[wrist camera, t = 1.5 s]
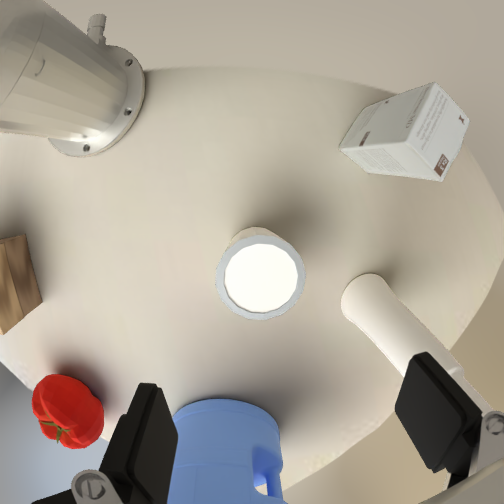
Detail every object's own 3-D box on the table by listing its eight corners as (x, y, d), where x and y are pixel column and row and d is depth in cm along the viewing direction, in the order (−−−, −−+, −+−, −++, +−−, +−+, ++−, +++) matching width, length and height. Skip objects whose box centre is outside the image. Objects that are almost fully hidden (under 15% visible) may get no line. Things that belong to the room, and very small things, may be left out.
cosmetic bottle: (362, 330, 31) (461, 474, 9) (329, 304, 29) (436, 472, 8) (396, 292, 30) (525, 410, 8) (366, 262, 28) (520, 389, 7)
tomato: (75, 356, 30) (44, 397, 21) (124, 416, 33) (108, 460, 25) (37, 369, 31) (10, 403, 22) (82, 422, 34) (64, 459, 25)
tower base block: (-10, 241, 26) (-30, 249, 21) (26, 233, 26) (4, 242, 21) (5, 301, 28) (-13, 313, 24) (43, 301, 28) (24, 316, 24)
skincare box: (363, 106, 24) (433, 73, 12) (394, 133, 25) (473, 119, 13) (335, 151, 25) (401, 137, 14) (368, 177, 26) (445, 183, 14)
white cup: (216, 224, 27) (208, 240, 20) (287, 216, 27) (304, 230, 20) (225, 290, 28) (221, 325, 22) (292, 283, 29) (307, 314, 22)
